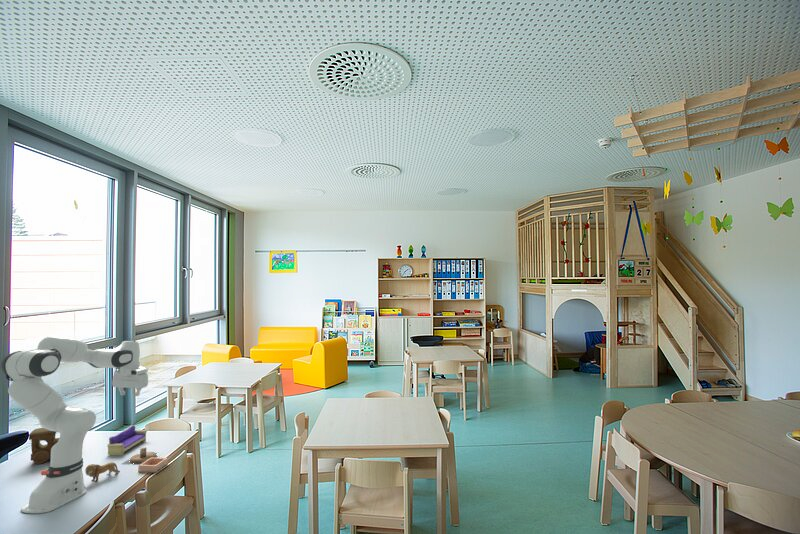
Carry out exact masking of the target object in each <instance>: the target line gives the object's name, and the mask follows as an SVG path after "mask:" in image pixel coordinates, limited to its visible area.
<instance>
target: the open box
mask: <svg viewBox="0 0 800 534" xmlns="http://www.w3.org/2000/svg"><path fill="white" fill-rule="evenodd" d="M168 461H169V459H168V457H158V458H154V457H151V458H149V459H148V460H146V461H145V462H143V463H142V464H140V465H137V467H138V470H137V471H138V473H150V474H151V473H153V474H154V473H155V474H156V473H157V472H159V471H160V470H161V469H163V468H164V467H166V466H168ZM159 469H160V470H159ZM158 470H159V471H158Z"/></svg>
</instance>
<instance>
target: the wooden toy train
mask: <svg viewBox="0 0 800 534" xmlns="http://www.w3.org/2000/svg"><path fill="white" fill-rule="evenodd" d="M56 434H57V432H55V431H49V430H47V429H45V428H43V427H39V428H34V429H33V430H32V431H31V432H30V433H29V434H28V439H29V441H30V442H31V444H30V445H31V454H30V461H32V462H33V463H35V464H37V465H40V464H41V465H42V464H45V463H47V462H48V461H49V459H51V448H52V447H53V446H54V445H55V444H56V443H57V442H58V440H59V438H60V437H56ZM41 441H45V442H46V444H42V442H41Z"/></svg>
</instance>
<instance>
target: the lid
mask: <svg viewBox="0 0 800 534" xmlns="http://www.w3.org/2000/svg"><path fill="white" fill-rule="evenodd" d="M139 453H140V454H138V453H136V454H134V455H132V456H131V457H130V458H129V459H130V463H134V464H138V463H143V462H145V461H146V460H148V459H149V458H151V457H154V458H155V457H156V453H157V452H155V451H147V447H146V446H144V447H141V448H140V451H139Z"/></svg>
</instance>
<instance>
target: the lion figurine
mask: <svg viewBox="0 0 800 534" xmlns="http://www.w3.org/2000/svg"><path fill="white" fill-rule="evenodd" d="M107 471H108V473H107V474H106V476H110V475H111V473H114V476H117V475H118V473H120V470H119V469H118V466H117V464H116V463H115V462H113V461H112V462H108V463H106V464H104V465H101V464H94V463H93V464H88V465H87V466H86V468H85V470H84V473H85V475H86V476H89V477H90V478H92V479H91V482H94V483H98V482H99V476H100V474H104V473H106V472H107Z"/></svg>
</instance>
